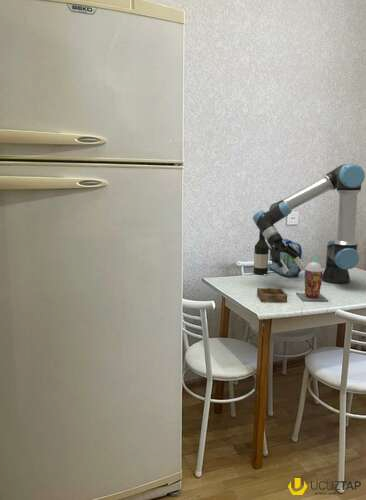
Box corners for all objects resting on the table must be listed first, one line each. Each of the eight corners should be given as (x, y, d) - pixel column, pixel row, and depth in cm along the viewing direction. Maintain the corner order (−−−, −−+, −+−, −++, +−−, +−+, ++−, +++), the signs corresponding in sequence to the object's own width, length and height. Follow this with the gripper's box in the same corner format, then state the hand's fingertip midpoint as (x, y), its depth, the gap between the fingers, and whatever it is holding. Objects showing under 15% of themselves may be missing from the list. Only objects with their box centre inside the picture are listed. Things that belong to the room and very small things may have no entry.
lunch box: (302, 278, 235) (305, 242, 231) (285, 278, 233) (288, 243, 229) (283, 268, 260) (284, 236, 256) (267, 268, 258) (269, 236, 254)
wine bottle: (267, 275, 240) (270, 225, 234) (253, 274, 241) (255, 224, 236) (267, 272, 248) (269, 223, 242) (253, 271, 249) (255, 223, 244)
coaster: (320, 294, 202) (320, 293, 202) (328, 301, 190) (328, 300, 190) (296, 294, 202) (296, 292, 202) (302, 301, 190) (303, 300, 190)
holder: (281, 295, 200) (281, 288, 199) (287, 302, 188) (287, 295, 188) (256, 294, 200) (257, 287, 200) (261, 302, 188) (261, 294, 188)
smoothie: (300, 294, 200) (302, 254, 196) (316, 294, 200) (319, 254, 197) (306, 299, 192) (309, 258, 188) (323, 299, 192) (327, 258, 189)
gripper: (283, 239, 221) (304, 270, 212) (252, 243, 206) (274, 278, 197) (291, 230, 216) (314, 262, 207) (261, 234, 201) (284, 269, 192)
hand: (295, 270), depth 202 cm, fingers open, 13 cm apart
